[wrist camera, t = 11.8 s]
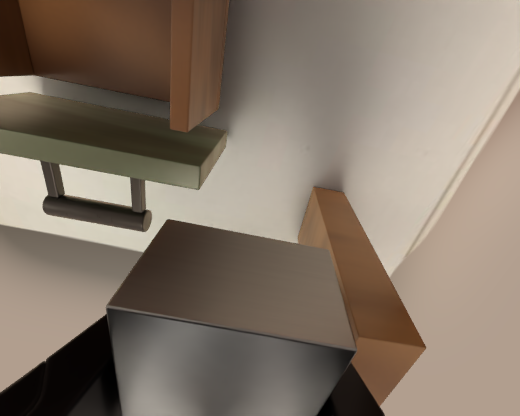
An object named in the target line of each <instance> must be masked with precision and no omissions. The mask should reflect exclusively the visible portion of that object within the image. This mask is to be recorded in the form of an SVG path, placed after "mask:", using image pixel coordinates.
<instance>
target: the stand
mask: <svg viewBox="0 0 520 416" xmlns="http://www.w3.org/2000/svg"><path fill="white" fill-rule="evenodd" d="M298 243H299V244H302V245H307V246H312V247H317V248H323V249H328V250H329V251H330V254H331V258H332V261H333V265H334V268H335V272H336V275H337V279H338V282H339V286H340V290H341V293H342V297H343V300H344V304H345V307H346V311H347V314H348V318H349V321H350V325H351V328H352V332H353V335H354V339H355V343H356V346H357V353H356V354H355V356H354V357H353V359H352V361H351V363H352V364H353V366H354V367H355V369H356V370H357V372H358V373H359V375H360V377H361V378H362V380H363V381H364V383H365V384H366V386H367V388H368V389H369V391H370V392H371V394H372V395H373V397H374V399H375V400H376V402H377V403H378V405H379V406H380V405H381V404H382V403H383V402H384V400H385V399H386V398H387V397H388V395H389V394H390V392H392V390H393V389H394V388H395V387H396V385H397V384H398V383H399V382H400V380H401V379H402V378H403V377H404V375H405V374H406V373H407V372H408V370H409V369H410V368H411V367H412V365H413V364H414V363H415V362H416V360H417V359H418V358H419V357H420V355H421V354H422V353H423V352H424V350H425V349H426V346H425V344H424V342H423V341H422V339H421V337H420V335H419V333H418V331H417V329H416V327H415V326H414V323H413V322H412V320H411V318H410V316H409V314H408V313H407V310H406V308H405V307H404V305H403V303H402V301H401V299H400V298H399V295H398V294H397V291H396V290H395V288H394V286H393V284H392V282H391V281H390V278H389V276H388V275H387V273H386V271H385V269H384V267H383V265H382V263H381V261H380V260H379V258H378V256H377V254H376V252H375V250H374V248H373V246H372V244H371V243H370V241H369V239H368V237H367V235H366V233H365V231H364V229H363V228H362V226H361V224H360V222H359V220H358V218H357V216H356V214H355V212H354V211H353V209H352V207H351V205H350V203H349V201H348V199H347V197H346V196H345V194H344V192H339V191H333V190H328V189H323V188H317V187H313V189H312V193H311V196H310V199H309V203H308V206H307V209H306V212H305V216H304V219H303V222H302V225H301V229H300V232H299V235H298Z"/></svg>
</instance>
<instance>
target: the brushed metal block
mask: <svg viewBox="0 0 520 416" xmlns="http://www.w3.org/2000/svg"><path fill="white" fill-rule="evenodd" d="M106 312H107V320H108V326H109V333H110V340H111V347H112V354H113V361H114V368H115V375H116V381H117V388H118V395H119V402H120V409H121V416H317V415H318V414H319V412H320V410H321V409H322V407H323V406H324V404H325V402H326V401H327V399H328V398H329V396H330V394H331V393H332V391H333V390H334V388H335V386H336V385H337V383H338V382H339V380H340V378H341V377H342V375H343V373H344V372H345V370H346V369H347V367H348V365H349V364H350V362H351V361H352V359H353V357H354V356H355V354H356V353H357V346H356V343H355V339H354V335H353V332H352V328H351V325H350V321H349V318H348V314H347V311H346V307H345V304H344V300H343V297H342V293H341V290H340V286H339V282H338V279H337V275H336V272H335V268H334V265H333V261H332V258H331V254H330V251H329V250H328V249H323V248H317V247H312V246H307V245H302V244H296V243H291V242H286V241H281V240H275V239H270V238H265V237H260V236H254V235H249V234H244V233H239V232H233V231H228V230H223V229H218V228H212V227H207V226H202V225H196V224H191V223H186V222H181V221H175V220H170V219H168V220H166V222H165V223H164V225H163V226H162V228H161V229H160V230H159V232H158V233H157V235H156V236H155V237H154V239H153V240H152V242H151V243H150V245H149V246H148V247H147V249H146V250H145V252H144V253H143V255H142V256H141V257H140V259H139V260H138V262H137V263H136V265H135V266H134V267H133V269H132V270H131V271H130V273H129V274H128V276H127V277H126V279H125V280H124V281H123V283H122V284H121V286H120V287H119V288H118V290H117V291H116V293H115V294H114V295H113V297H112V298H111V300H110V301H109V303H108V304H107V306H106Z"/></svg>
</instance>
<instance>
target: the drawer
mask: <svg viewBox="0 0 520 416" xmlns="http://www.w3.org/2000/svg"><path fill="white" fill-rule="evenodd" d="M228 9H229V0H0V77H3V76H28V75H36V76H41V77H46V78H51V79H56V80H61V81H66V82H71V83H76V84H81V85H86V86H91V87H96V88H101V89H106V90H111V91H116V92H122V93H127V94H132V95H137V96H142V97H147V98H152V99H157V100H162V101H167V102H170V119H165V118H160V117H155V116H149V115H144V114H139V113H134V112H129V111H124V110H119V109H114V108H108V107H103V106H98V105H93V104H88V103H83V102H78V101H73V100H68V99H62V98H57V97H52V96H47V95H42V94H37V93H32V92H28V93H18V94H9V95H0V153H2V154H8V155H13V156H19V157H24V158H29V159H35V160H40V161H41V165H42V170H43V174H44V178H45V182H46V186H47V191H48V195H47V196H46V198H45V199H44V201H43V210H44V212H45V213H46V214H48V215H52V216H58V217H63V218H69V219H75V220H80V221H86V222H91V223H97V224H103V225H108V226H114V227H119V228H125V229H131V230H136V231H142V232H146V231H147V230H148V229H149V227H150V224H151V220H152V213H151V211H150V210H146V199H145V180H148V181H153V182H158V183H164V184H169V185H174V186H180V187H185V188H191V189H196V190H199V189H200V187H201V186H202V184H203V183H204V181H205V179H206V178H207V176H208V175H209V173H210V171H211V170H212V168H213V167H214V165H215V163H216V162H217V160H218V159H219V157H220V155H221V154H222V152H223V151H224V149H225V147H226V141H227V132H228V131H226V130H221V129H216V128H211V127H206V126H201V125H198V124H199V123H201V122H202V121H203V120H205V119H206V118H207V117H209V116H210V115H211V114H213V113H214V112H215V111H217V110H218V109H219V101H220V91H221V81H222V71H223V60H224V50H225V40H226V30H227V19H228ZM59 164H62V165H67V166H72V167H78V168H83V169H88V170H94V171H99V172H105V173H110V174H115V175H121V176H126V177H130V181H131V196H132V207H130V206H124V205H119V204H113V203H108V202H102V201H97V200H91V199H86V198H80V197H75V196H69V195H64V194H65V192H64V187H63V182H62V177H61V172H60V167H59Z"/></svg>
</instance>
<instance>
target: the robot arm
mask: <svg viewBox="0 0 520 416" xmlns="http://www.w3.org/2000/svg"><path fill="white" fill-rule="evenodd" d="M0 416H121V409H120V402H119V395H118V388H117V381H116V375H115V368H114V361H113V354H112V347H111V340H110V333H109V326H108V320H107V314H106V315H105V316H103V317H102V318H101V319H99V320H98V321H96V322H95V323H94V324H93V325H91V326H90V327H88V328H87V329H86V330H85V331H83V332H82V333H80V334H79V335H78V336H76V337H75V338H74V339H72V340H71V341H70V342H68V343H67V344H66V345H64V346H63V347H62V348H61V349H59V350H58V351H56V352H55V353H54V354H52V355H51V356H50V357H49V358H47V359H46V362H45V361H43V362H42V363H40V364H39V365H38V366H36V367H35V368H34V369H32V370H31V371H29V372H28V373H27V374H25V375H24V376H23V377H21V378H20V379H19V380H17V381H16V382H15V383H13V384H12V385H10V386H9V387H8V388H6V389H5V390H3V391H2V392H1V393H0ZM317 416H385V415H384V413H383V411H382V410H381V408H380V406H379V405H378V403H377V402H376V400H375V399H374V397H373V395H372V394H371V392H370V391H369V389H368V388H367V386H366V384H365V383H364V381H363V380H362V378H361V377H360V375H359V373H358V372H357V370H356V369H355V367H354V366H353V364H352V363H351V362H350V364H349V365H348V367H347V369H346V370H345V372H344V373H343V375H342V377H341V378H340V380H339V382H338V383H337V385H336V386H335V388H334V390H333V391H332V393H331V394H330V396H329V398H328V399H327V401H326V402H325V404H324V406H323V407H322V409H321V410H320V412H319V414H318V415H317Z"/></svg>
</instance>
